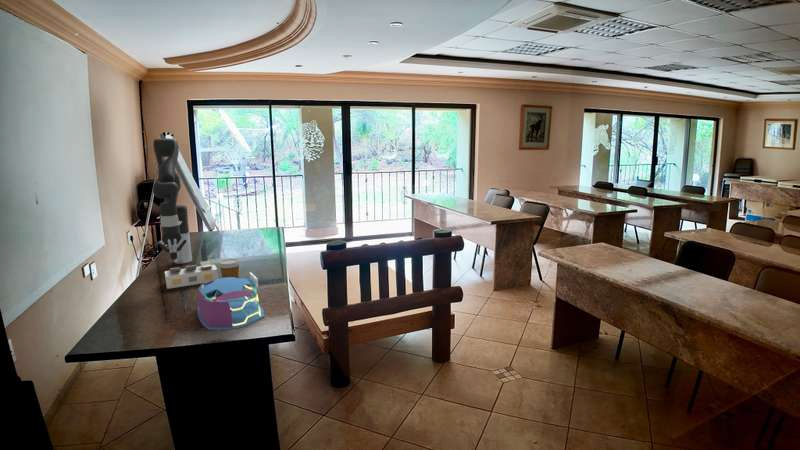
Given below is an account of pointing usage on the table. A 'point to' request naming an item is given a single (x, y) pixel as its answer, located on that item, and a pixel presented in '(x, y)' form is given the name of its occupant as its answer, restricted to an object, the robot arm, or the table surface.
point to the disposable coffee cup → (229, 268)
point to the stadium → (229, 303)
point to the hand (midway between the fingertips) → (174, 259)
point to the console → (190, 277)
